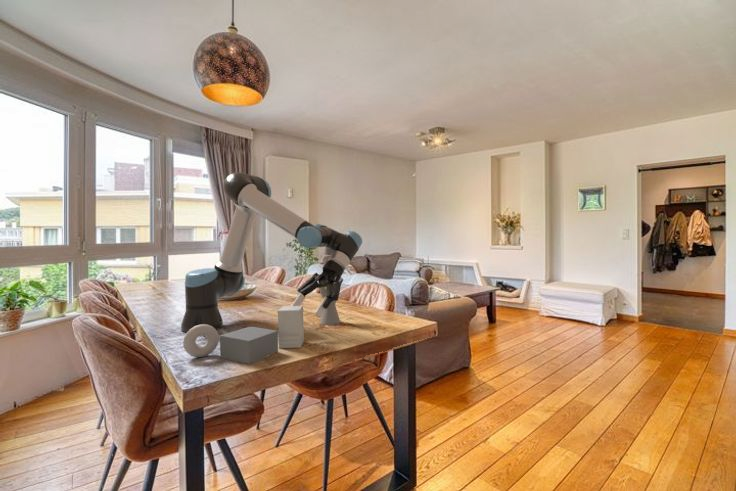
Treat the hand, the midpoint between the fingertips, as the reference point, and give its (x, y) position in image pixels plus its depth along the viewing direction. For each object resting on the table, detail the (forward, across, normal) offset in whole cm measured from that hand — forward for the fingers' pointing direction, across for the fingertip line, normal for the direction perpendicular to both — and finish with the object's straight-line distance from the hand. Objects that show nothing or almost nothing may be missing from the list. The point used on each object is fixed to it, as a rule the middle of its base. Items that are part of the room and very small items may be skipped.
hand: (304, 312), depth 122 cm
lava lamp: (-10, +14, -25) cm, 30 cm away
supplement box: (+11, +1, -4) cm, 12 cm away
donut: (+28, +12, +14) cm, 34 cm away
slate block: (+21, +3, +6) cm, 22 cm away
